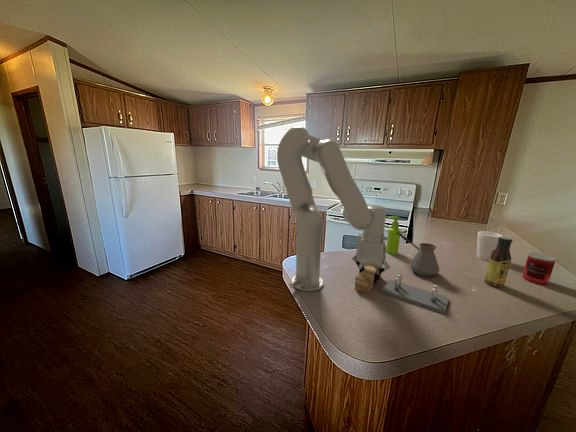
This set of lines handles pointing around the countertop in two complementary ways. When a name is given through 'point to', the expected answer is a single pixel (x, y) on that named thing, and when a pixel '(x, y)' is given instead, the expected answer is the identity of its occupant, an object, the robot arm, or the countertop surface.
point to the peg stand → (417, 295)
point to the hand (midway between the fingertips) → (368, 279)
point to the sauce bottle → (499, 263)
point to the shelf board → (365, 279)
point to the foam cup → (486, 244)
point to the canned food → (538, 268)
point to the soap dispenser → (393, 237)
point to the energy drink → (358, 241)
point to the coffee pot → (424, 259)
